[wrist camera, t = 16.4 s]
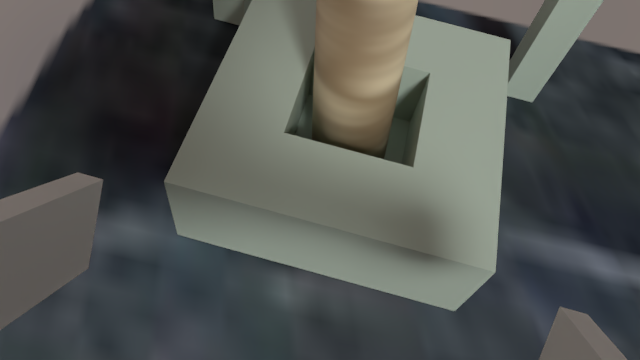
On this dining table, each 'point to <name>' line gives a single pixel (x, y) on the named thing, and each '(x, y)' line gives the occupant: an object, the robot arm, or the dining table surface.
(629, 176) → the dining table surface
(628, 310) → the dining table surface
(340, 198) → the socket
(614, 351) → the robot arm
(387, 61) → the dowel
